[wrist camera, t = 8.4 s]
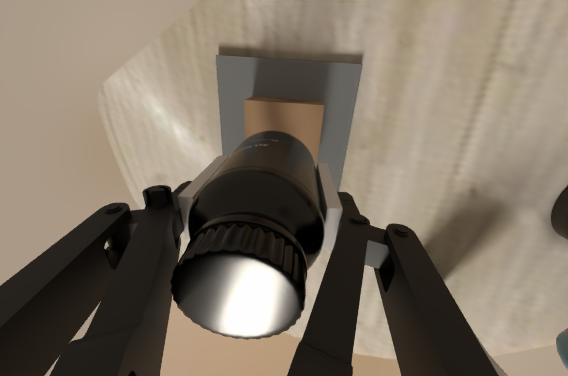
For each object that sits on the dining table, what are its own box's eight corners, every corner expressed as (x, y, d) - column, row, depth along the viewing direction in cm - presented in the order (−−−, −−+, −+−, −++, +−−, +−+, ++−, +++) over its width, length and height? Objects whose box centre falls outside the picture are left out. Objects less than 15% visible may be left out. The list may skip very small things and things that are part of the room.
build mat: (360, 64, 28) (362, 64, 27) (336, 191, 36) (337, 194, 35) (218, 55, 28) (215, 55, 27) (226, 183, 36) (224, 185, 35)
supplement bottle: (257, 110, 16) (180, 173, 6) (332, 158, 18) (386, 284, 7) (218, 181, 19) (118, 314, 8) (286, 218, 20) (273, 374, 10)
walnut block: (320, 101, 29) (324, 105, 25) (312, 165, 33) (314, 179, 29) (252, 96, 29) (243, 99, 25) (252, 161, 33) (245, 174, 29)
